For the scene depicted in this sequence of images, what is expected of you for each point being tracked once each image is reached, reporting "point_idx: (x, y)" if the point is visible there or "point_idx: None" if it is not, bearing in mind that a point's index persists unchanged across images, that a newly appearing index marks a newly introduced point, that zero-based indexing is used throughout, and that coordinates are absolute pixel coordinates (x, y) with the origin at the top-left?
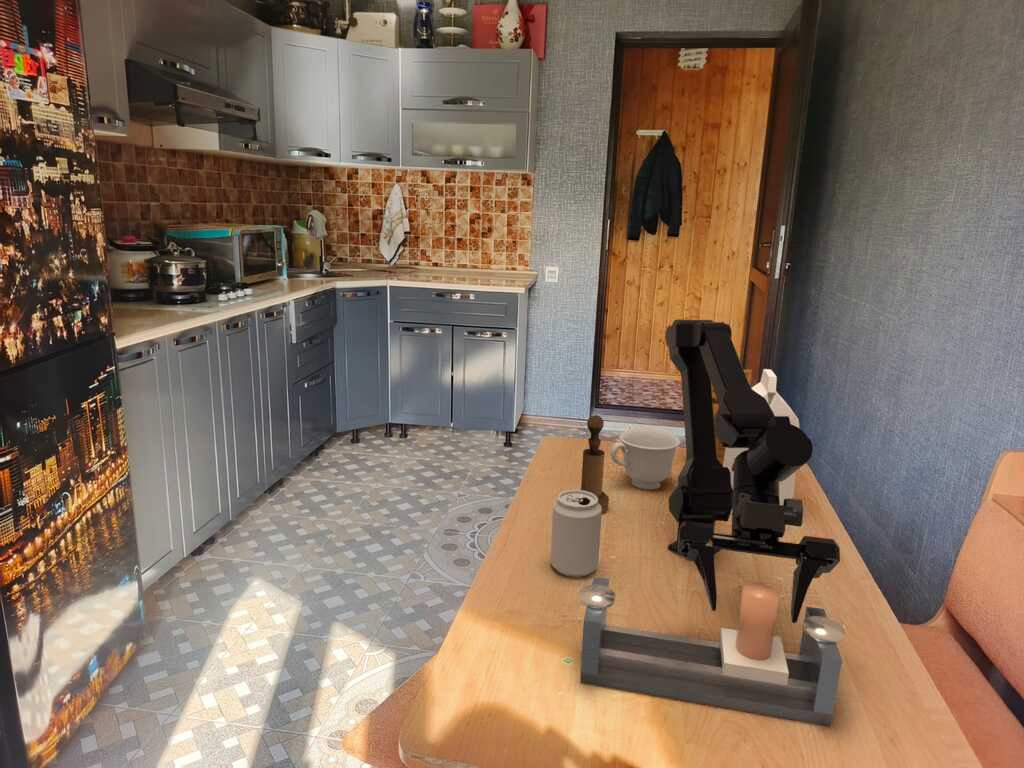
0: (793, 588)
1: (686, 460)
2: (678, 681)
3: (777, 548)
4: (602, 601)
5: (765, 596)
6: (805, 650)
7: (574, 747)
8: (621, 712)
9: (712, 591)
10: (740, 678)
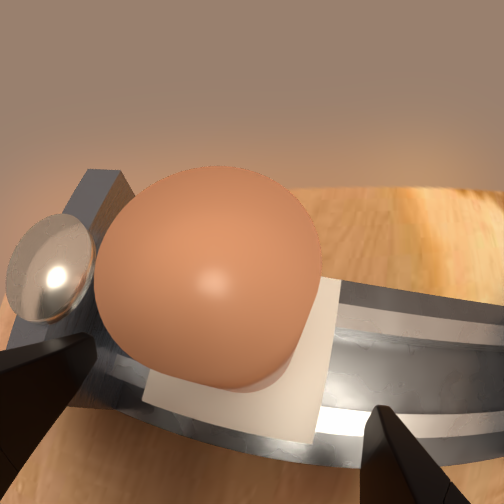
0: (19, 444)
1: None
2: (411, 311)
3: None
4: None
5: (193, 208)
6: (103, 358)
7: (499, 205)
8: (474, 263)
9: (410, 446)
10: None
